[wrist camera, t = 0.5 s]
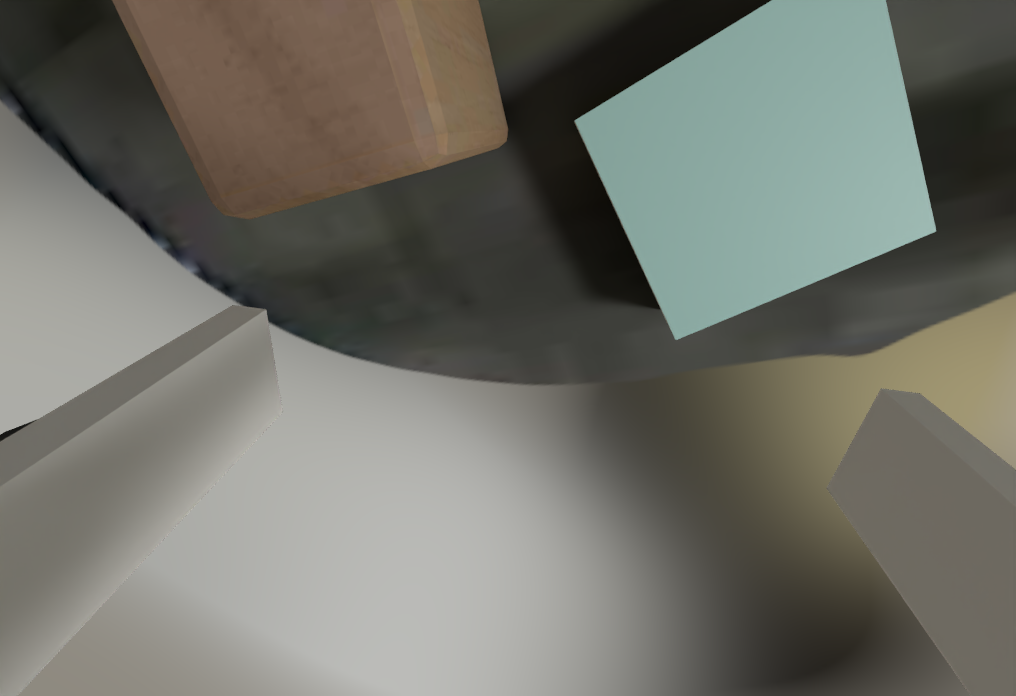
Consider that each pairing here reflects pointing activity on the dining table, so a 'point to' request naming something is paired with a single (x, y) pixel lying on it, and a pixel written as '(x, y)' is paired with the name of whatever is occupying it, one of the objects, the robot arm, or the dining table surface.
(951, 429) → the robot arm
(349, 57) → the wooden block
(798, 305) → the dining table surface
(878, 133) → the base brick
